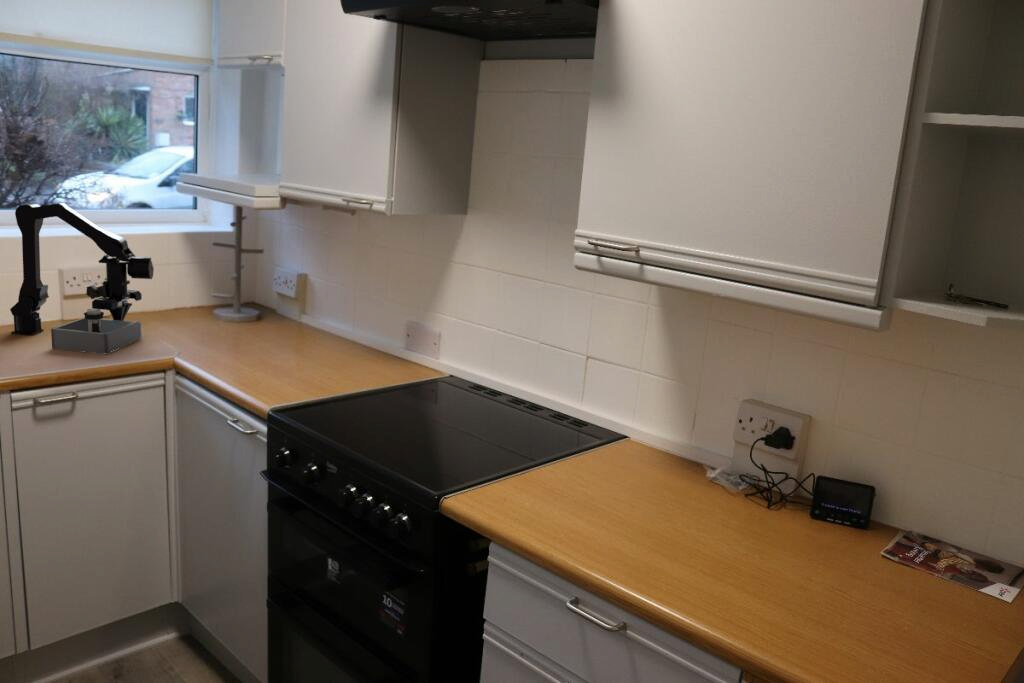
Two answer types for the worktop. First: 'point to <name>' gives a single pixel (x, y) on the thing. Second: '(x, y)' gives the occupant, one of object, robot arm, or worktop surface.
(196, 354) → the worktop surface
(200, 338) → the worktop surface
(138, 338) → the dock
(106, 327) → the tray
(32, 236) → the robot arm
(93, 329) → the push button
